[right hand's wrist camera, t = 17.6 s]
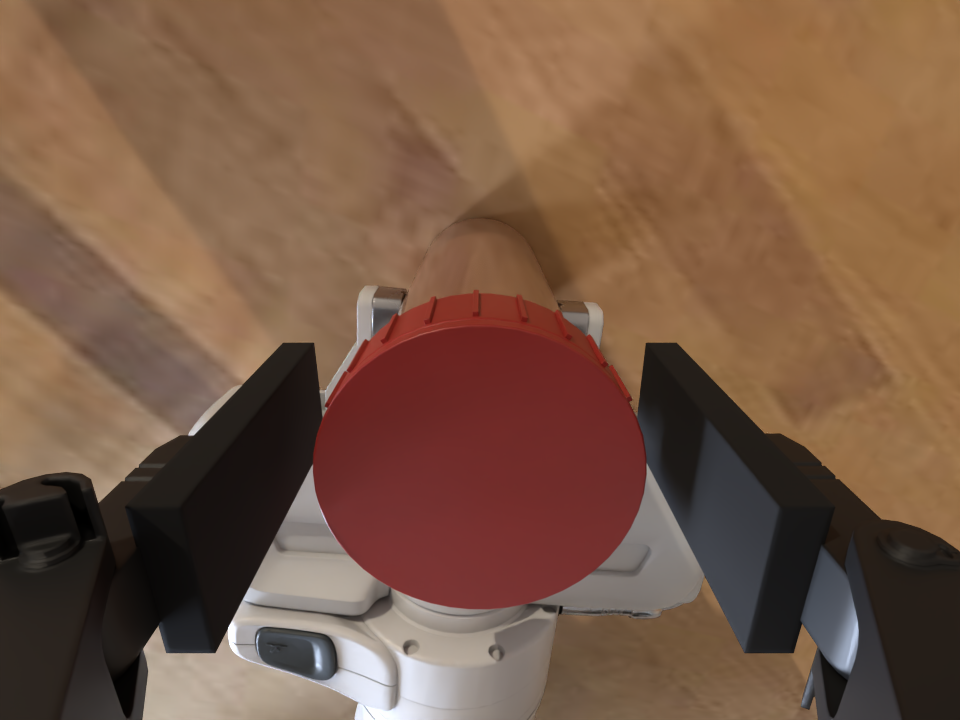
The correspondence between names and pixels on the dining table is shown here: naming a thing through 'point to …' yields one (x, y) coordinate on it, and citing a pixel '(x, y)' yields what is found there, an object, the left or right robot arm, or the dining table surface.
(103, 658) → the right robot arm
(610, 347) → the dining table surface
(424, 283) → the jar
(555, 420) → the lid
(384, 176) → the dining table surface
